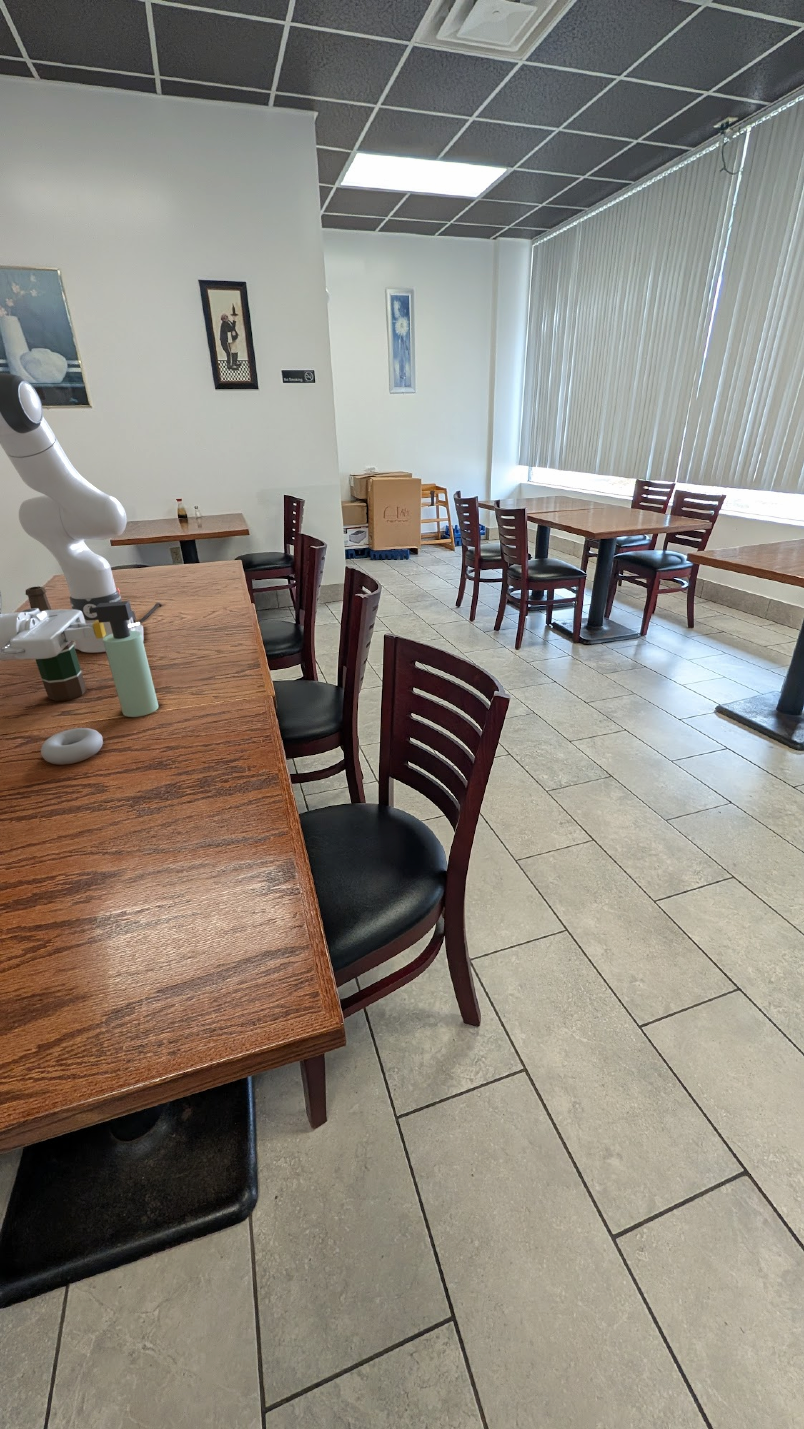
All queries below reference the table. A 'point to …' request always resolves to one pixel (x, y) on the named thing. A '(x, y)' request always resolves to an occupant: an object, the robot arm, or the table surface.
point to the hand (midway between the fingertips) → (96, 629)
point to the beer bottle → (58, 660)
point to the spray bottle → (127, 660)
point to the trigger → (99, 629)
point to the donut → (71, 746)
